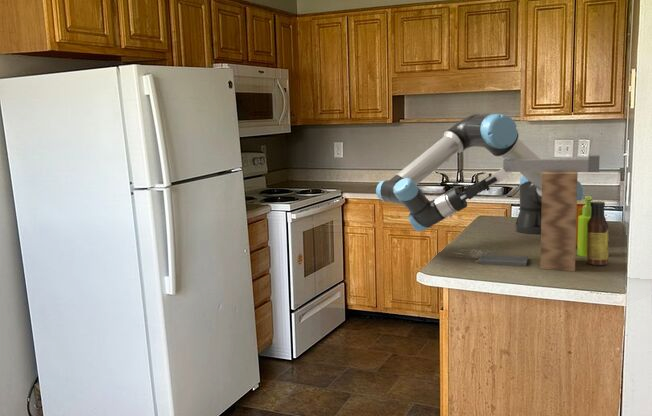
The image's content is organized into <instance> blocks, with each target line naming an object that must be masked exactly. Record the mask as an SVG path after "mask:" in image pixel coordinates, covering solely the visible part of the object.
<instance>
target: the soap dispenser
mask: <svg viewBox="0 0 652 416" xmlns="http://www.w3.org/2000/svg"><path fill="white" fill-rule="evenodd" d="M584 200H585V205H584V206H583V209H582V215H581V216H578V244H577V250H576V252H577V253H576V254H577V256H580V257H586V258H587V224H588V221H589V220H590V218H591V201H592V200H593V198H592V195H586V196H584Z"/></svg>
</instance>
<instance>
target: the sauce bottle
mask: <svg viewBox="0 0 652 416" xmlns="http://www.w3.org/2000/svg"><path fill="white" fill-rule="evenodd" d="M605 206H606V203H605V201H599V200H598V201H597V200H595V201H594V200H593V202H591V218H590V220H589V221H588V224H587V257H586V259H587V263H588V264H589V265H591V266H606V265H607V264H608V263H609V241H610V240H609V233H610V231H609V225H608V222H607V220H606V216H605Z"/></svg>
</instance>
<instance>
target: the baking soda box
mask: <svg viewBox="0 0 652 416" xmlns="http://www.w3.org/2000/svg"><path fill="white" fill-rule="evenodd" d="M591 202H594V200H593V199H592V201H591ZM584 205H585V199H582V200H577V214H576V248H577V244H578V216H581V215H582V209H583V206H584Z"/></svg>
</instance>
